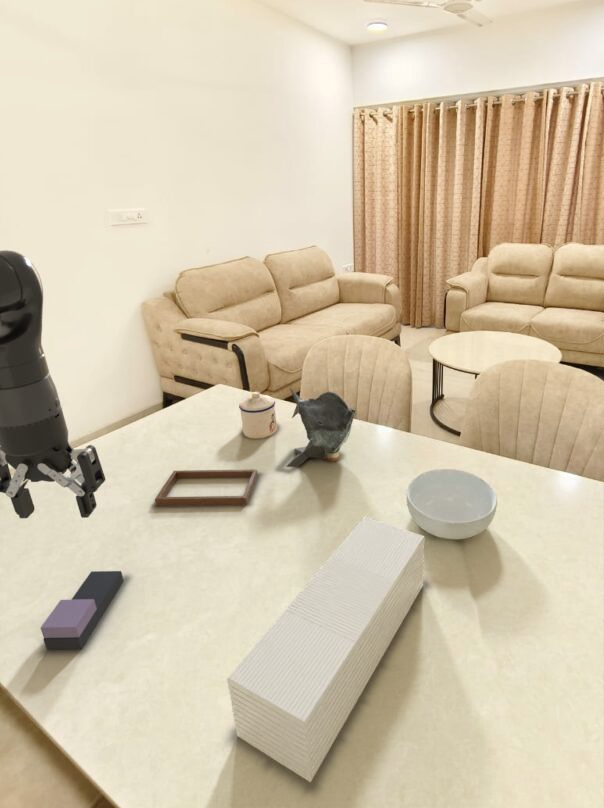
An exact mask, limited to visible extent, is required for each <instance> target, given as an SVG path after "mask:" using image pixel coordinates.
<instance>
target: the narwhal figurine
mask: <svg viewBox="0 0 604 808" xmlns="http://www.w3.org/2000/svg"><path fill="white" fill-rule="evenodd" d="M288 388H289V390H290V392H291V394H292V397H293V399H294V402H295V404H296V405H295V408H294V412H293V414H292V417H291V419H293V418H294V417H295V416H297V415H300V420H301V423H302V424H303V426H304V429H305V432H306V438H307V440H308V441H309V442H308V443H307V445H306V446H301V447H296V448H294V453H295V456H294V457H293V458H292V459H291V460H290V462H289V463H288V464H287V465H286V466H285V467H286V468H287V467H288V468H296V469H297V468H299V467H300V466H301V465H302V464H304V462H305V461H306V460H308V459H309V458H317V459H324V460H327V461H330V462H333V461H338V460H339V459H340V458H341V454H340V450H341V448H342V446H343V445H344V443H346V442H347V441H348V439H349V437H350V433H351V431H352V425H353V421H354V419H355V415H356V409H353V408H349V407H348V405H347V403H346V401H345V400H343V398H342V397H340V395H338V394H337V393H336V392H333V391H326V392H323V393H322V394H320V395H319V396H318V397H317V398H307V399H302V398H301V397H300V396H299V395H298V394H297V393H296V392H295V391H294V390H293V389H292V388H291V387H289V386H288Z"/></svg>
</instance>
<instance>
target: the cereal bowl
mask: <svg viewBox="0 0 604 808" xmlns="http://www.w3.org/2000/svg"><path fill="white" fill-rule="evenodd" d="M405 495H406V503H407V504H406V506H407V509H408V512H409V514H410V517H411V519H412V520H413V522H415V524H416V525H417V526H418V527H420V529H422V530H423V531H425V532H427V533H428V534H430V535H432V536H435V537H438V538H440V539H445V540H463V539H468V538H472V537H475V536H477V535H480V534H481V533H482V532H484V531H485V530H487V528H488V527H489V526H490V524H491V523H492V521H493V520H494V517H495V515H496V512H497V511H496V510H497V506H498V497H497V493H496V491H495V489H494V488H493V486H492V485H491V484H490V483H489V482H488V481H486V480H485V479H483V478H482V477H481V476H479V475H476V474H474V473H471V472H469V471H465V470H461V469H455V468H438V469H432V470H428V471H425V472H422V473H420V474H418V475H417V476H415V477H414V478H413V479H412V480H411V481H410V482H409V483H408V485H407V489H406V494H405Z"/></svg>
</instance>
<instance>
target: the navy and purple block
mask: <svg viewBox="0 0 604 808" xmlns="http://www.w3.org/2000/svg"><path fill="white" fill-rule="evenodd" d="M124 581H125V580H124V577H123V573H122V571H121V570H103V571H102V570H100V571H96V570H95V571H94V570H93V571H90V572H89V574H88V575H87V577H86V578H85V580H84V581H83V582H82V583H81V585H80V587H79V588H78V590H77V591H76V592H75V593H74V595H73V597H72V598H71V599H60V600H59V601H58V603H57V604H56V606H55V607H54V608H53V609H52V611H51V613H49V615H48V616H47V618H46V619H45V620H44V622H43V623H42V624H41V626H40V631H41V633H42V636H43V639H42V640H43V644H44V647H45V649H46V651H82V650H83V649H84V647H85V645H86V643H87V642H88V641H89V639H90V637H91V636H92V634H93V633H94V630H95V629H96V627H97V626H98V624H99V622H100V621H101V619H102V618H103V615H105V612H106V611H107V610H108V608H109V606H110V605H111V603H112V601H113V599H114V598H115V596H116V594H117V593H118V591H119V590H120V588H121V586H122V585H123V583H124Z"/></svg>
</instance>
